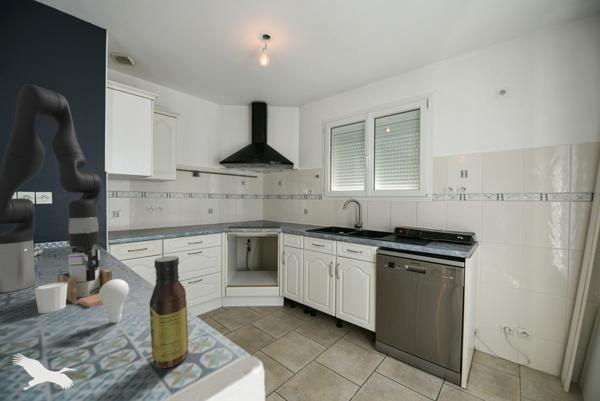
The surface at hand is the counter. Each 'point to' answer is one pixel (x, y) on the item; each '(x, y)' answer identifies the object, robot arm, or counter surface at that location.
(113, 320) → the lightbulb
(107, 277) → the wooden box
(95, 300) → the tile pad
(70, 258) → the syrup box
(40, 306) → the white short cylinder
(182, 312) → the sauce bottle
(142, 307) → the counter surface
